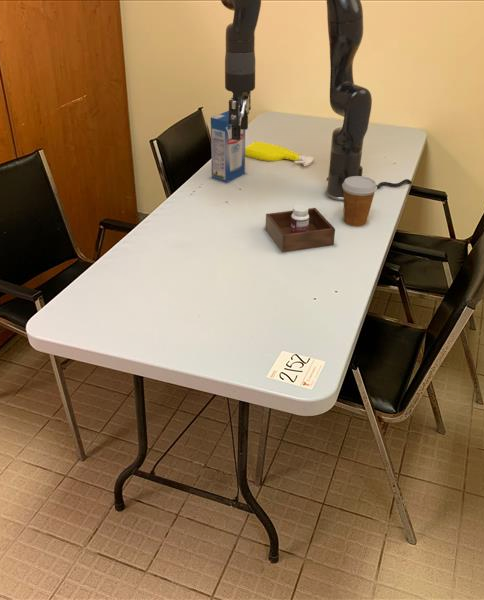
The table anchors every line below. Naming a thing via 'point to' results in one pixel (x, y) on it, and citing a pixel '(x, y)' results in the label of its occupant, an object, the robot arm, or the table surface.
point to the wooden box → (315, 237)
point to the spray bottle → (274, 153)
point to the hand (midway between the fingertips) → (239, 134)
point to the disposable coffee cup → (358, 199)
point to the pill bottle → (299, 219)
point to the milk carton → (226, 150)
